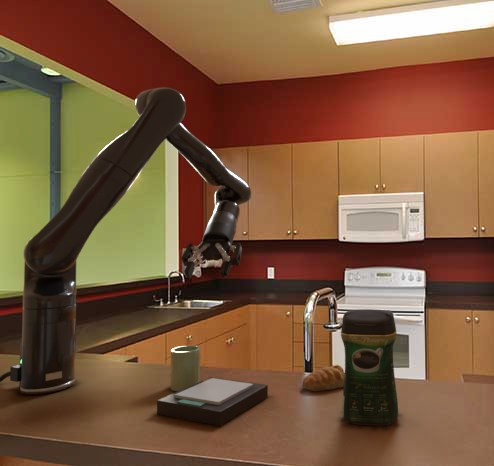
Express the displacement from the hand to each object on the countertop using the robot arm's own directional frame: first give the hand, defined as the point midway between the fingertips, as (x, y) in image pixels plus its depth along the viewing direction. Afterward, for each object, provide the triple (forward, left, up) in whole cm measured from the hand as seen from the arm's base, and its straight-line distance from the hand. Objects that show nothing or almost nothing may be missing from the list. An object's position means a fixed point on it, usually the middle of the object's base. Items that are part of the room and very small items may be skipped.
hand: (205, 276), depth 98 cm
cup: (+4, -11, -23) cm, 25 cm away
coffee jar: (+46, -12, -23) cm, 53 cm away
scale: (+17, -17, -23) cm, 33 cm away
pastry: (+32, 0, -23) cm, 40 cm away
